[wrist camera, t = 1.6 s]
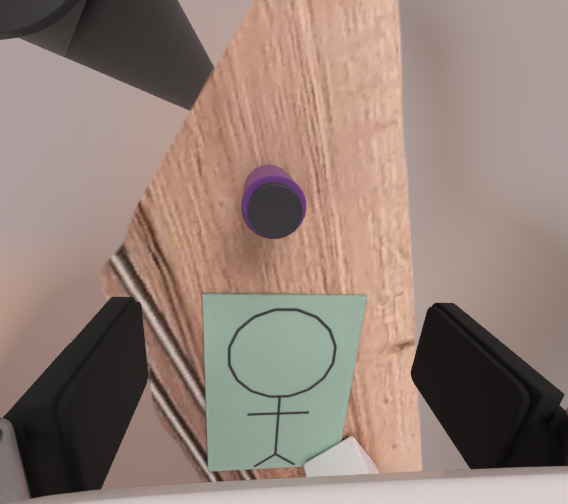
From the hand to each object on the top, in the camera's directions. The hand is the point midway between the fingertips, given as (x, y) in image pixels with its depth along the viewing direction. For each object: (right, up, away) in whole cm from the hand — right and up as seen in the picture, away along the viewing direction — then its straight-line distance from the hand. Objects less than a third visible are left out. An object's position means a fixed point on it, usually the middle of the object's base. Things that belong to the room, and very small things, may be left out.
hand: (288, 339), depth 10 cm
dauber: (-1, +8, +16) cm, 18 cm away
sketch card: (-1, -12, +24) cm, 27 cm away
